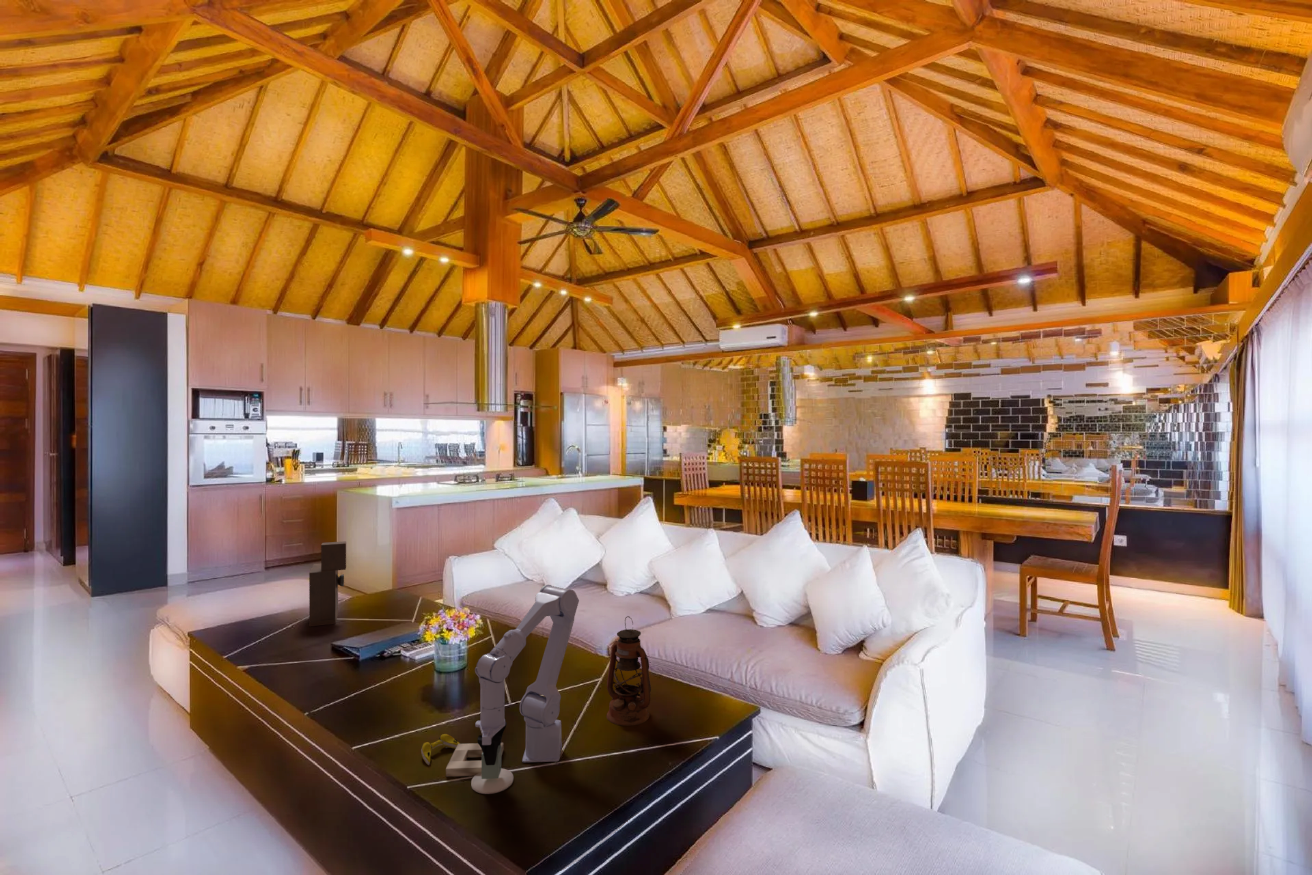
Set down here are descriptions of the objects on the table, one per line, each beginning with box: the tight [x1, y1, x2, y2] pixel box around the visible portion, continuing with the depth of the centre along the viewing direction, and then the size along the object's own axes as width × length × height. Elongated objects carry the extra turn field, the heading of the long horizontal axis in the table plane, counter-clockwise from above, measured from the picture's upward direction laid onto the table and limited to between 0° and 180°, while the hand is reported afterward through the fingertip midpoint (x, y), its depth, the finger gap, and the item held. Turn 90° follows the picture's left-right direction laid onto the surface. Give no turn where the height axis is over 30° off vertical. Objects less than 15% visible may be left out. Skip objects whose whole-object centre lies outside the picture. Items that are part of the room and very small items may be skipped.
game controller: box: [420, 733, 461, 766], centre depth 164 cm, size 10×6×4 cm, turn 144°
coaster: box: [470, 767, 514, 795], centre depth 151 cm, size 10×10×1 cm
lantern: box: [606, 615, 652, 727], centre depth 186 cm, size 17×13×30 cm
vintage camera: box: [308, 541, 347, 627], centre depth 279 cm, size 19×14×35 cm
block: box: [481, 745, 502, 779], centre depth 151 cm, size 4×4×6 cm
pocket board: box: [445, 742, 504, 777], centre depth 160 cm, size 12×12×2 cm
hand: (492, 759), depth 151 cm, fingers closed on block, 4 cm apart
